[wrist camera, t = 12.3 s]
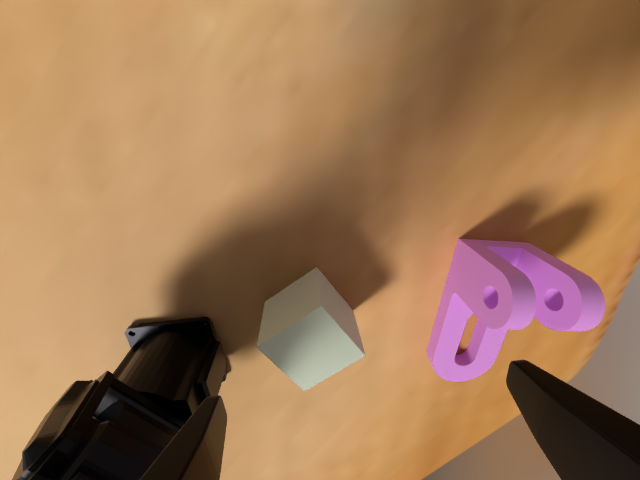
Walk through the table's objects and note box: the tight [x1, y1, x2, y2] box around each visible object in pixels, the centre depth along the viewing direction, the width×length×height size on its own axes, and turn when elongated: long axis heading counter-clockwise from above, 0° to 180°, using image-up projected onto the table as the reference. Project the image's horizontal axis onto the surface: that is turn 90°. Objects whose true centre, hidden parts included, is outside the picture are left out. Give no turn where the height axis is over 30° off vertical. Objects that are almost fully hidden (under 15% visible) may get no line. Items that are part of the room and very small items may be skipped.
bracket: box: [427, 239, 605, 382], centre depth 22 cm, size 13×6×7 cm, turn 175°
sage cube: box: [257, 267, 365, 391], centre depth 21 cm, size 5×5×5 cm
